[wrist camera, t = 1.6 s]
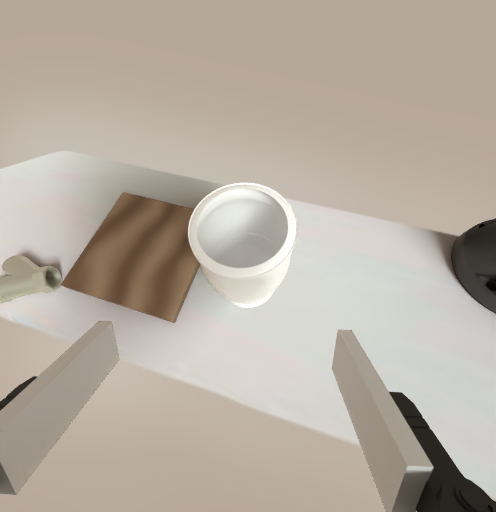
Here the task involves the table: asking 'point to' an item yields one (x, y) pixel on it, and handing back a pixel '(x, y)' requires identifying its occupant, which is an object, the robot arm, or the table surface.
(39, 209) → the table surface
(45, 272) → the pipe fitting
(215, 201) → the jar
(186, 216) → the walnut board
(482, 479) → the table surface
